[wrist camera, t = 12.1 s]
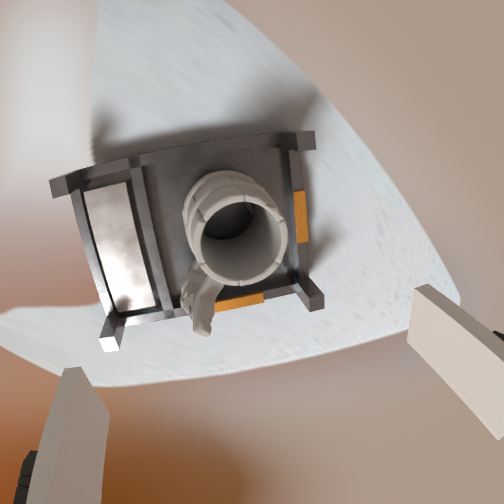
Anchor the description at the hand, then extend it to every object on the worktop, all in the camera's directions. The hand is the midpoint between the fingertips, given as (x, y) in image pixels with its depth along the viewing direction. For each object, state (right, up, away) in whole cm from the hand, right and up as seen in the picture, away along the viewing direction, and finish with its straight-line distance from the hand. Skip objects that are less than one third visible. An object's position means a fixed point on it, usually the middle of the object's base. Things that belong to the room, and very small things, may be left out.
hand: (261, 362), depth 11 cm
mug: (-4, +6, +19) cm, 21 cm away
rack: (-6, +6, +19) cm, 21 cm away
